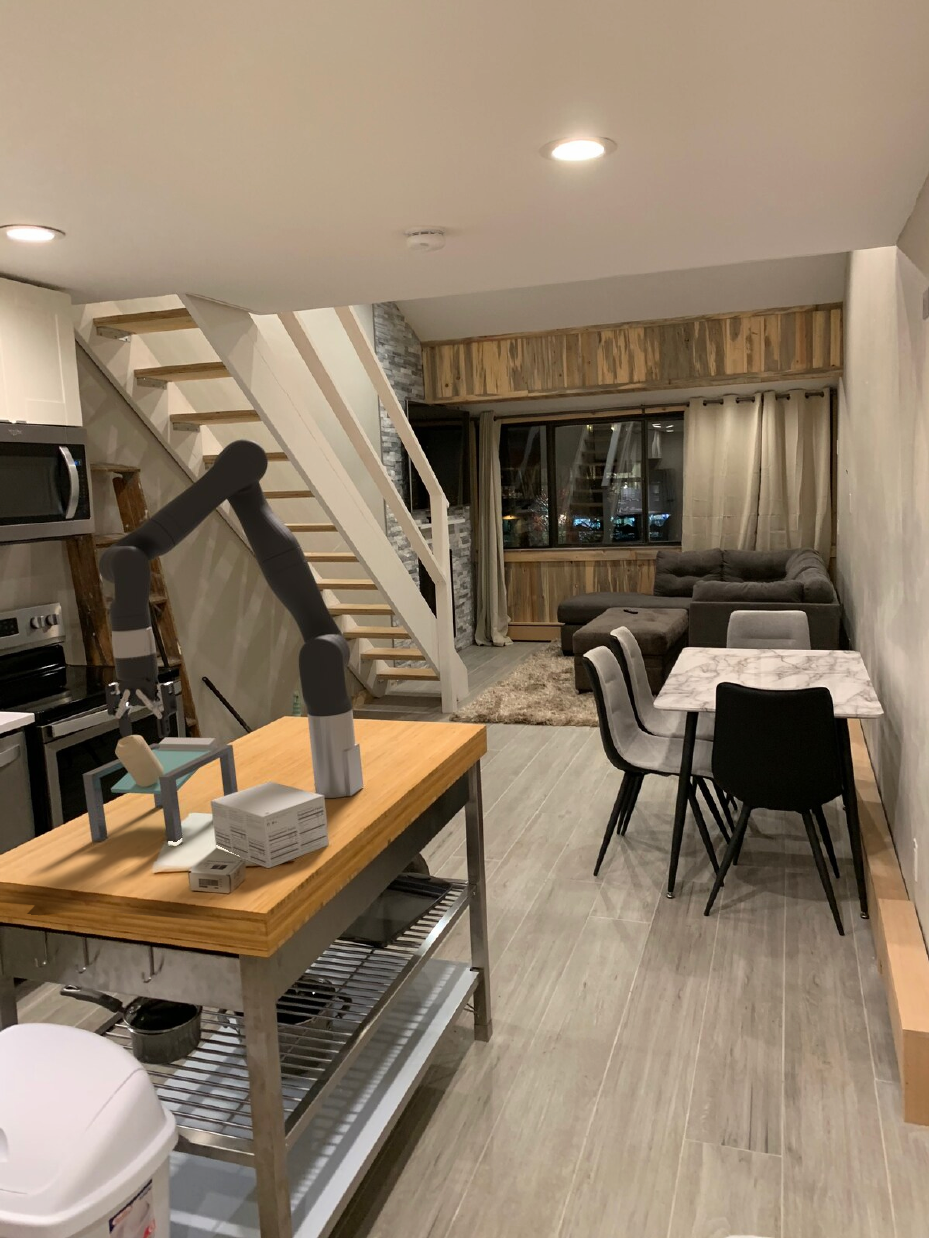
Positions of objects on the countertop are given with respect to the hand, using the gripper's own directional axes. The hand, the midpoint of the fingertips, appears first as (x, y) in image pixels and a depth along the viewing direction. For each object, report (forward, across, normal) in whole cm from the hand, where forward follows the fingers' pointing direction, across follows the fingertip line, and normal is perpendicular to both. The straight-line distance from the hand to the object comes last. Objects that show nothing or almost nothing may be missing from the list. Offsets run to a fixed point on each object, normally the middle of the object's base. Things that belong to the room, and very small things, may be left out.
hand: (145, 736), depth 176 cm
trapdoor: (+9, 0, -6) cm, 10 cm away
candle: (+8, 0, 0) cm, 8 cm away
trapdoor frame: (+19, 0, -4) cm, 19 cm away
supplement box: (+19, -28, +4) cm, 34 cm away
